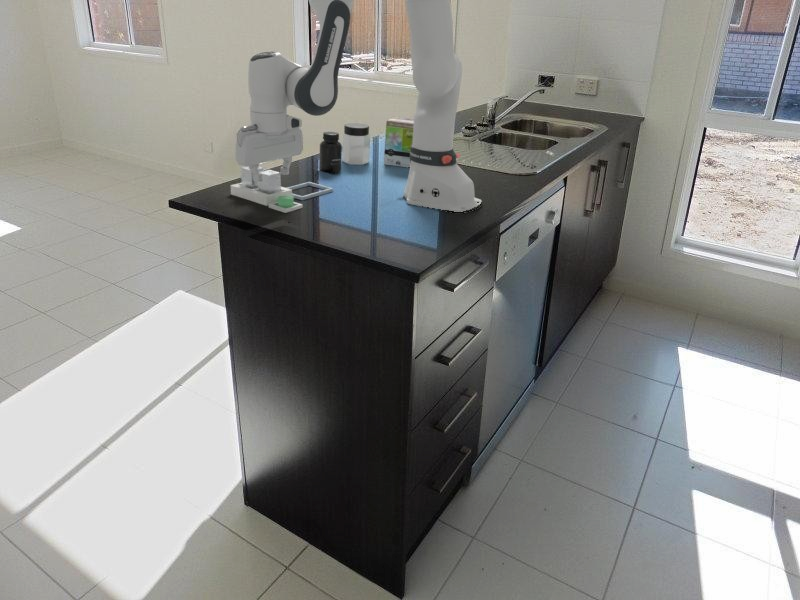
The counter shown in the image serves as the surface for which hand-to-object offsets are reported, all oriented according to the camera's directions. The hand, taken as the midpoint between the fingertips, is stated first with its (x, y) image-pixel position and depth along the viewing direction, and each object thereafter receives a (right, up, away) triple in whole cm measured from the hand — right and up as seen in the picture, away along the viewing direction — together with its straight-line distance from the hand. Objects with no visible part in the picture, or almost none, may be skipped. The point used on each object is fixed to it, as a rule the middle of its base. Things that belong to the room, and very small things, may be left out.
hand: (271, 177), depth 161 cm
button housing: (+4, -9, -2) cm, 10 cm away
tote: (+7, -3, +11) cm, 14 cm away
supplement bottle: (+11, +9, +36) cm, 39 cm away
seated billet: (-6, -3, +6) cm, 9 cm away
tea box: (+36, +14, +50) cm, 63 cm away
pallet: (-4, -5, +5) cm, 8 cm away
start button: (+4, -8, -2) cm, 10 cm away
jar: (+18, +15, +49) cm, 55 cm away
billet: (-1, -5, +3) cm, 6 cm away
